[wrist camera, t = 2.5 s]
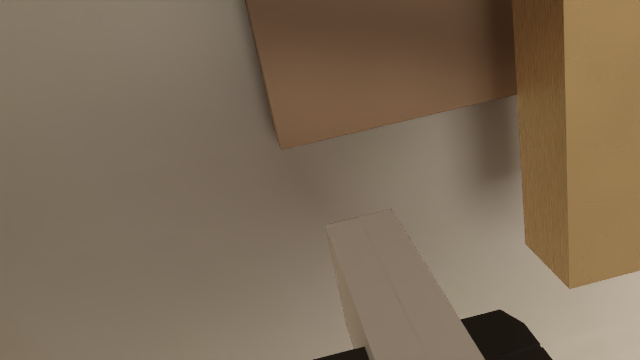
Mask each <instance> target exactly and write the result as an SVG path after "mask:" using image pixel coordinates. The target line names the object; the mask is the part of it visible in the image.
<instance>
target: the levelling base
mask: <svg viewBox="0 0 640 360" xmlns="http://www.w3.org/2000/svg"><path fill="white" fill-rule="evenodd" d="M245 3H246V8H247V12H248V16H249V21H250V25H251V29H252V34H253V38H254V42H255V47H256V51H257V55H258V60H259V64H260V68H261V73H262V77H263V81H264V86H265V90H266V94H267V99H268V103H269V107H270V112H271V116H272V120H273V125H274V129H275V132H276V135H277V139H278V142H279V145H280V148H281V150H283V149H288V148H292V147H296V146H300V145H304V144H309V143H313V142H317V141H321V140H326V139H330V138H334V137H338V136H343V135H347V134H351V133H355V132H359V131H364V130H368V129H372V128H376V127H381V126H385V125H389V124H393V123H398V122H402V121H406V120H410V119H414V118H419V117H423V116H427V115H431V114H436V113H440V112H444V111H448V110H453V109H457V108H461V107H465V106H469V105H474V104H478V103H482V102H486V101H491V100H495V99H499V98H503V97H508V96H512V95H516V94H517V82H516V64H515V46H514V28H513V9H512V0H245Z"/></svg>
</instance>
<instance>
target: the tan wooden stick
mask: <svg viewBox="0 0 640 360" xmlns="http://www.w3.org/2000/svg"><path fill="white" fill-rule="evenodd" d="M512 9H513V28H514V46H515V64H516V82H517V100H518V118H519V136H520V154H521V173H522V191H523V209H524V227H525V244H526V245H527V246H528V247H529V248H530V249H531V250H532V251H533V252H534V253H535V254H536V255H537V256H538V257H539V258H540V259H541V260H542V261H543V262H544V263H545V264H546V265H547V266H548V267H549V268H550V269H551V270H552V272H553V273H554V274H555V275H556V276H557V277H558V278H559V279H560V280H561V281H562V282H563V283H564V284H565V285H566V286H567V287H568V288H569V289H571V288H575V287H579V286H582V285H586V284H590V283H594V282H598V281H601V280H605V279H609V278H613V277H617V276H620V275H624V274H628V273H632V272H636V271H639V270H640V0H512Z"/></svg>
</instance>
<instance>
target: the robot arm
mask: <svg viewBox="0 0 640 360" xmlns="http://www.w3.org/2000/svg"><path fill="white" fill-rule="evenodd" d="M326 230H327V235H328V240H329V245H330V249H331V254H332V259H333V264H334V268H335V273H336V278H337V283H338V288H339V292H340V297H341V302H342V307H343V311H344V316H345V321H346V326H347V329H348V332H349V335H350V338H351V341H352V344H353V347H354V349H353V350H349V351H345V352H341V353H337V354H334V355H330V356H326V357H322V358H318V359H314V360H552V359H551V357H550V356H549V355H548V353H547V352H546V351H545V350H544V348H543V347H542V348H541V346H540V343H539V342H538V341H537V339H536V338H535V337H534V335H533V334H532V333H531V332H530V330H529V329H528V328H527V326H526V325H525V324H524V323H522V322H521V321H519V320H517V319H516V318H514V317H512V316H510V315H509V314H507V313H505V312H504V311H502V310H496V311H492V312H488V313H484V314H481V315H477V316H473V317H469V318H465V319H461V320H460V319H459V317H458V315H457V314H456V312H455V311H454V309H453V307H452V306H451V304H450V303H449V301H448V299H447V298H446V296H445V295H444V293H443V291H442V290H441V288H440V287H439V285H438V283H437V282H436V280H435V279H434V277H433V275H432V274H431V272H430V270H429V269H428V267H427V266H426V264H425V262H424V261H423V259H422V258H421V256H420V254H419V253H418V251H417V250H416V248H415V246H414V245H413V243H412V242H411V240H410V238H409V237H408V235H407V234H406V232H405V230H404V229H403V227H402V226H401V224H400V222H399V221H398V219H397V217H396V216H395V214H394V213H393V211H392V209H389V210H385V211H381V212H377V213H373V214H369V215H365V216H361V217H356V218H352V219H348V220H344V221H340V222H336V223H332V224H328V225H326Z"/></svg>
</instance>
